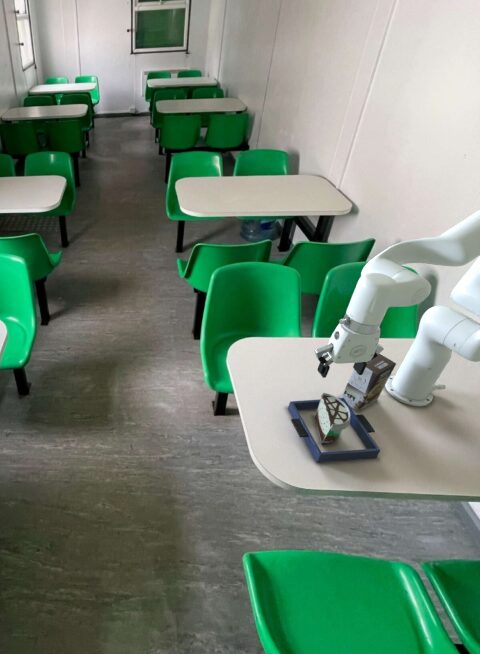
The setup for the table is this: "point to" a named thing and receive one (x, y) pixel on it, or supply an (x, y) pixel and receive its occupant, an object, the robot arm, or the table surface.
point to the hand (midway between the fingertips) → (339, 372)
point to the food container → (331, 418)
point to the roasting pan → (361, 429)
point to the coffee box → (368, 383)
